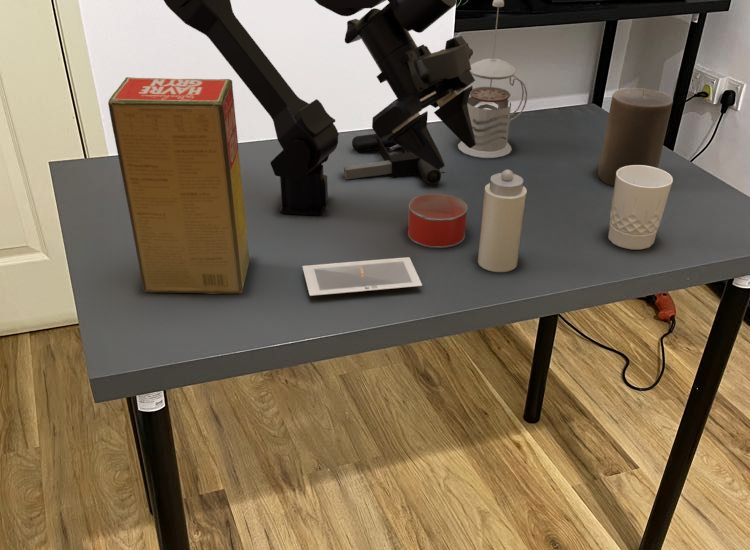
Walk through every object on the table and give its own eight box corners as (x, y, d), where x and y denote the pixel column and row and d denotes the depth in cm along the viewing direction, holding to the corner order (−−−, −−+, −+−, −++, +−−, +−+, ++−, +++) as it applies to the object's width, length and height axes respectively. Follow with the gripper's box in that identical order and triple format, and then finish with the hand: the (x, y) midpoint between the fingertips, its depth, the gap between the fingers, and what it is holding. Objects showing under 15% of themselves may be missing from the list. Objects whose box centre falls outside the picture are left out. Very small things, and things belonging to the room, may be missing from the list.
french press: (451, 139, 154) (461, -9, 138) (510, 135, 156) (526, -11, 140) (467, 159, 146) (479, 6, 130) (529, 155, 148) (548, 4, 133)
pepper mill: (478, 271, 115) (487, 177, 107) (477, 252, 120) (486, 160, 111) (518, 273, 115) (530, 179, 107) (516, 253, 120) (527, 162, 111)
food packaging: (251, 259, 116) (234, 76, 101) (243, 294, 109) (223, 103, 93) (155, 258, 116) (123, 74, 100) (141, 293, 108) (103, 101, 93)
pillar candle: (630, 194, 136) (650, 102, 127) (585, 174, 142) (601, 85, 133) (667, 180, 141) (688, 90, 132) (621, 161, 147) (639, 74, 138)
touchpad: (302, 273, 114) (301, 259, 112) (409, 264, 116) (409, 250, 115) (310, 302, 108) (309, 288, 106) (422, 292, 110) (422, 278, 109)
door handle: (352, 180, 132) (449, 166, 135) (329, 134, 147) (417, 123, 150) (353, 199, 134) (449, 185, 137) (331, 152, 149) (417, 141, 152)
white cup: (627, 256, 120) (641, 191, 113) (592, 233, 125) (604, 170, 119) (668, 245, 123) (685, 181, 116) (633, 223, 128) (647, 161, 122)
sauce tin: (406, 247, 120) (407, 217, 117) (409, 220, 127) (410, 192, 124) (465, 249, 120) (467, 220, 117) (464, 223, 127) (467, 195, 124)
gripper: (400, 33, 98) (469, 149, 101) (471, 3, 111) (531, 107, 114) (341, 84, 106) (408, 190, 109) (415, 50, 118) (472, 146, 122)
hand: (457, 156), depth 113 cm, fingers open, 9 cm apart
